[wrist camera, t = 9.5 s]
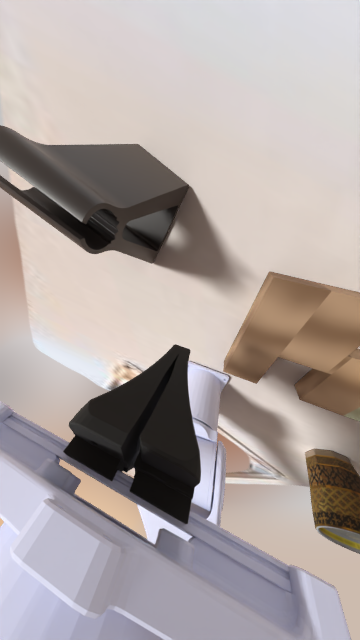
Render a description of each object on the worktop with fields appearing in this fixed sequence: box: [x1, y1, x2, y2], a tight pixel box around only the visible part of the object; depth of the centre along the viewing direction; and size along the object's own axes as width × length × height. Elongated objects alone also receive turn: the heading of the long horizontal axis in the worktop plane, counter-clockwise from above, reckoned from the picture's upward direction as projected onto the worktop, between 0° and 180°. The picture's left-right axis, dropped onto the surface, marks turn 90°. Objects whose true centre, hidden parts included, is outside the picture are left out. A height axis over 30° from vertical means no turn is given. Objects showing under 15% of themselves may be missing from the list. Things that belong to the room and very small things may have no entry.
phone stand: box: [0, 126, 189, 263], centre depth 12 cm, size 9×6×12 cm, turn 147°
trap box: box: [223, 272, 360, 422], centre depth 17 cm, size 15×20×4 cm
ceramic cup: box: [305, 449, 360, 554], centre depth 24 cm, size 13×10×10 cm
